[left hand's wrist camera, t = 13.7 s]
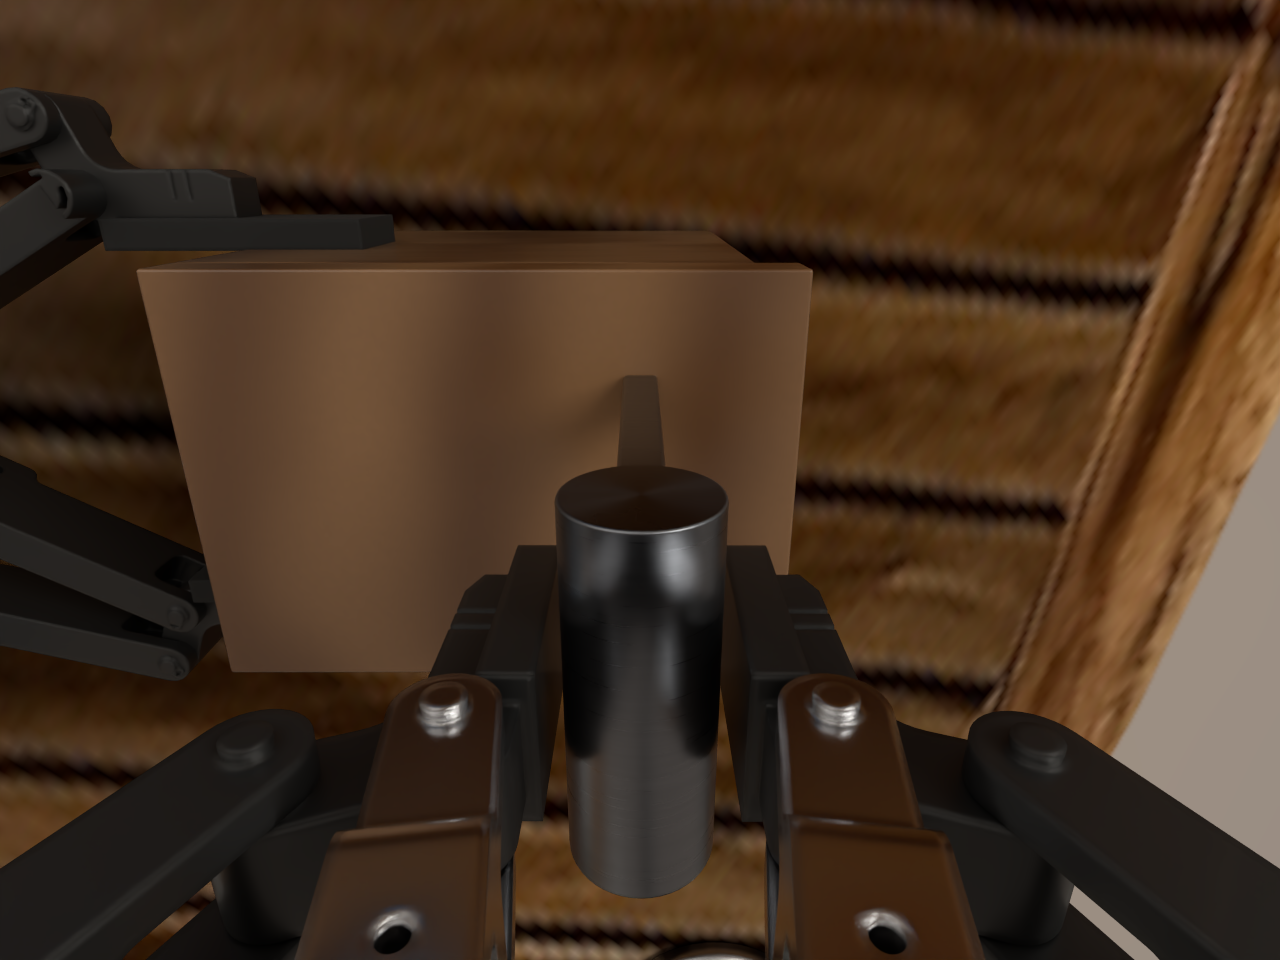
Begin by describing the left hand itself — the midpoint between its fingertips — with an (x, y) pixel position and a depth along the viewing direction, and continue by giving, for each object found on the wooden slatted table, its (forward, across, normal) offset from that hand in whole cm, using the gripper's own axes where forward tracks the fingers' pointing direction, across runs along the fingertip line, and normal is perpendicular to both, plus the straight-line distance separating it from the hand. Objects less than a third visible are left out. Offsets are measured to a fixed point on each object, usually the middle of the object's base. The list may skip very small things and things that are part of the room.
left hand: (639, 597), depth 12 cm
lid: (+6, +3, 0) cm, 7 cm away
